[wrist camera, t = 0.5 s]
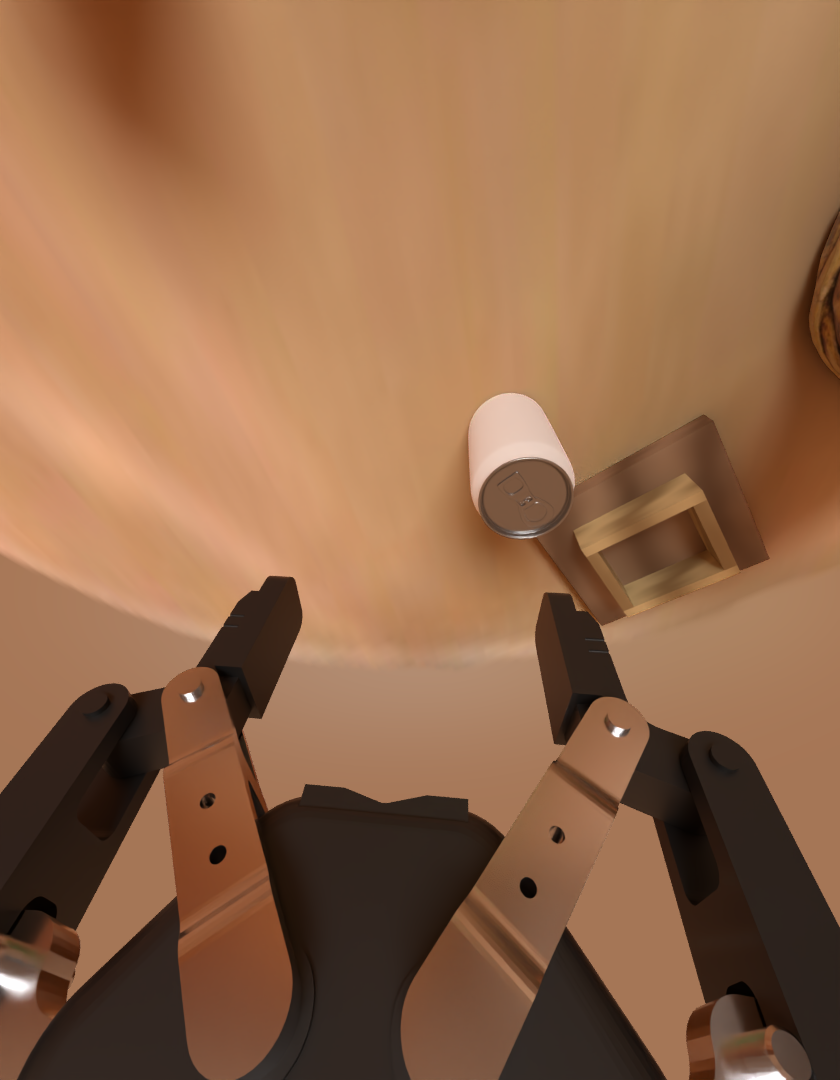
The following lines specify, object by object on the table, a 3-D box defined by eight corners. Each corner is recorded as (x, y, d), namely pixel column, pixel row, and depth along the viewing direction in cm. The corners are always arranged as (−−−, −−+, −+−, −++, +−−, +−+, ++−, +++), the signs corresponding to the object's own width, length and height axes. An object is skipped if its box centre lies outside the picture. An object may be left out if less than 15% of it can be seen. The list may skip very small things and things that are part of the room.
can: (498, 480, 37) (511, 561, 27) (452, 426, 34) (448, 495, 25) (561, 434, 34) (602, 507, 24) (516, 373, 32) (541, 427, 22)
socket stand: (703, 414, 32) (735, 435, 29) (759, 549, 39) (791, 580, 35) (523, 515, 39) (530, 542, 35) (597, 615, 45) (610, 647, 42)
